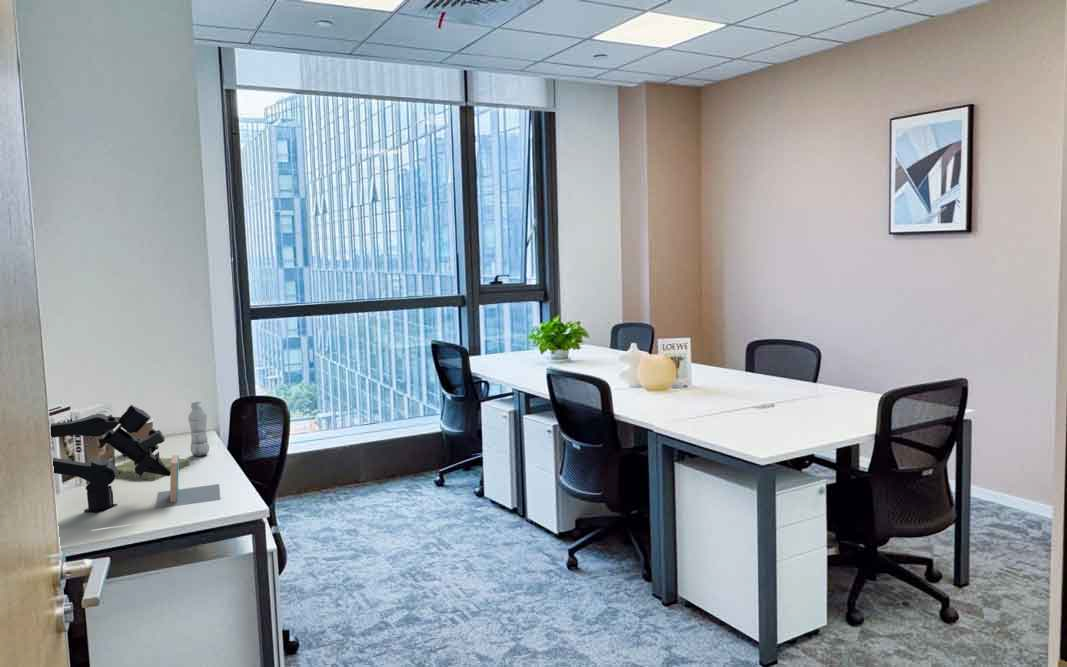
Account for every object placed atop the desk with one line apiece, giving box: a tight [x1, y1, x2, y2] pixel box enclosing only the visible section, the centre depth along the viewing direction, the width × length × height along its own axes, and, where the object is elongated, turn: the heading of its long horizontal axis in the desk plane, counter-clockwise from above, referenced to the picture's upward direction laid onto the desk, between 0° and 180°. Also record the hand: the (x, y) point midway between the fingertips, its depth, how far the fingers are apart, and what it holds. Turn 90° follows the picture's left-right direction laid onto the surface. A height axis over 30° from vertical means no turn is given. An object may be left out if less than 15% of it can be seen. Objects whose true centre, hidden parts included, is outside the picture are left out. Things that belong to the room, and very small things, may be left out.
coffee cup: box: [125, 418, 154, 439], centre depth 302 cm, size 10×10×12 cm
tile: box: [169, 454, 180, 502], centre depth 241 cm, size 2×10×12 cm, turn 23°
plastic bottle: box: [187, 401, 210, 457], centre depth 293 cm, size 6×7×20 cm
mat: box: [154, 483, 221, 510], centre depth 243 cm, size 18×18×1 cm
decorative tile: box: [115, 457, 190, 480], centre depth 273 cm, size 19×20×4 cm
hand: (170, 474), depth 240 cm, fingers closed
